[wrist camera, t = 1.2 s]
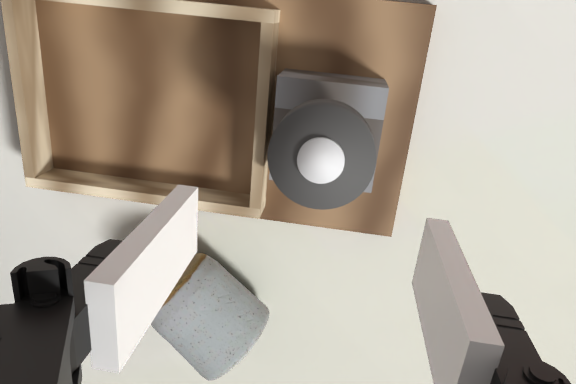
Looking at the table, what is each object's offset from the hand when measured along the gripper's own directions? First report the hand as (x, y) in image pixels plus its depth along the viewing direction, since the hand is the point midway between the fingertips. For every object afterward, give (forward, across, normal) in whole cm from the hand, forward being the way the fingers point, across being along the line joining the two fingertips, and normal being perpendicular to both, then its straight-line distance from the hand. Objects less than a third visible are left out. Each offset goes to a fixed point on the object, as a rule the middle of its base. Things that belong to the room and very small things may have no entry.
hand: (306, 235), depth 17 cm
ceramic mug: (+20, -9, -18) cm, 28 cm away
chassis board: (+19, -8, 0) cm, 21 cm away
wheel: (+15, 0, 0) cm, 15 cm away
